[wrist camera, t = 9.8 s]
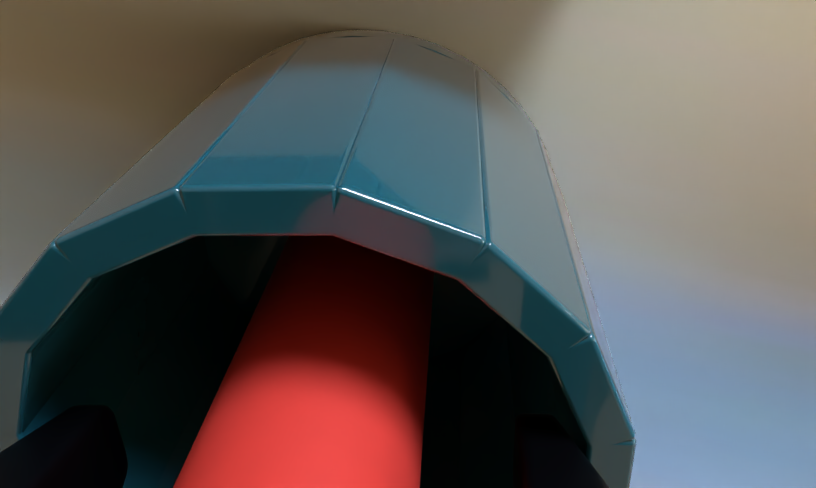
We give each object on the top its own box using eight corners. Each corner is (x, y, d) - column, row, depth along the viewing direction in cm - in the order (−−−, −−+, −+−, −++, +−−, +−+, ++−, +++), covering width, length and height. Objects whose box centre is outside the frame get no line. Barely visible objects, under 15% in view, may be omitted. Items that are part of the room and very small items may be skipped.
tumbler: (569, 23, 11) (677, 182, 6) (546, 368, 15) (600, 687, 9) (151, 34, 12) (-132, 189, 6) (219, 364, 15) (74, 663, 10)
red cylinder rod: (435, 167, 12) (331, 1353, 2) (437, 290, 13) (375, 1417, 4) (292, 168, 12) (-321, 1270, 3) (307, 290, 14) (-81, 1364, 4)
